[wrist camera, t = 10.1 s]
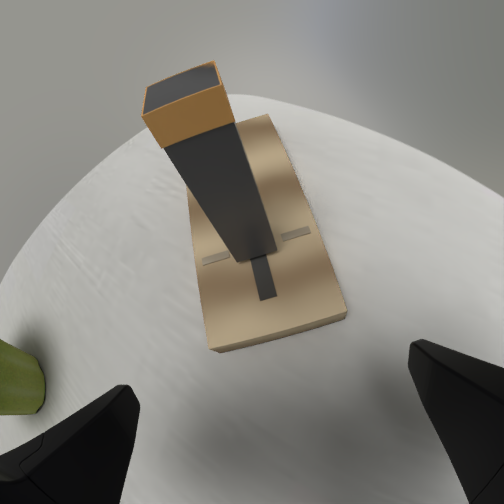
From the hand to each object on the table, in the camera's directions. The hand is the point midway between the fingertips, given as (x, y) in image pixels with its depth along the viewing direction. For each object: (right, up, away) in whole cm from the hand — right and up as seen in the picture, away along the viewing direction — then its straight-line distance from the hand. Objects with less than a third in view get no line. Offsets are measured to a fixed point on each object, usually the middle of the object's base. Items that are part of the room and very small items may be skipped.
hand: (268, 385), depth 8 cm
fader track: (-1, +6, +14) cm, 15 cm away
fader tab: (0, +4, +10) cm, 11 cm away
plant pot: (-22, -9, +12) cm, 26 cm away
